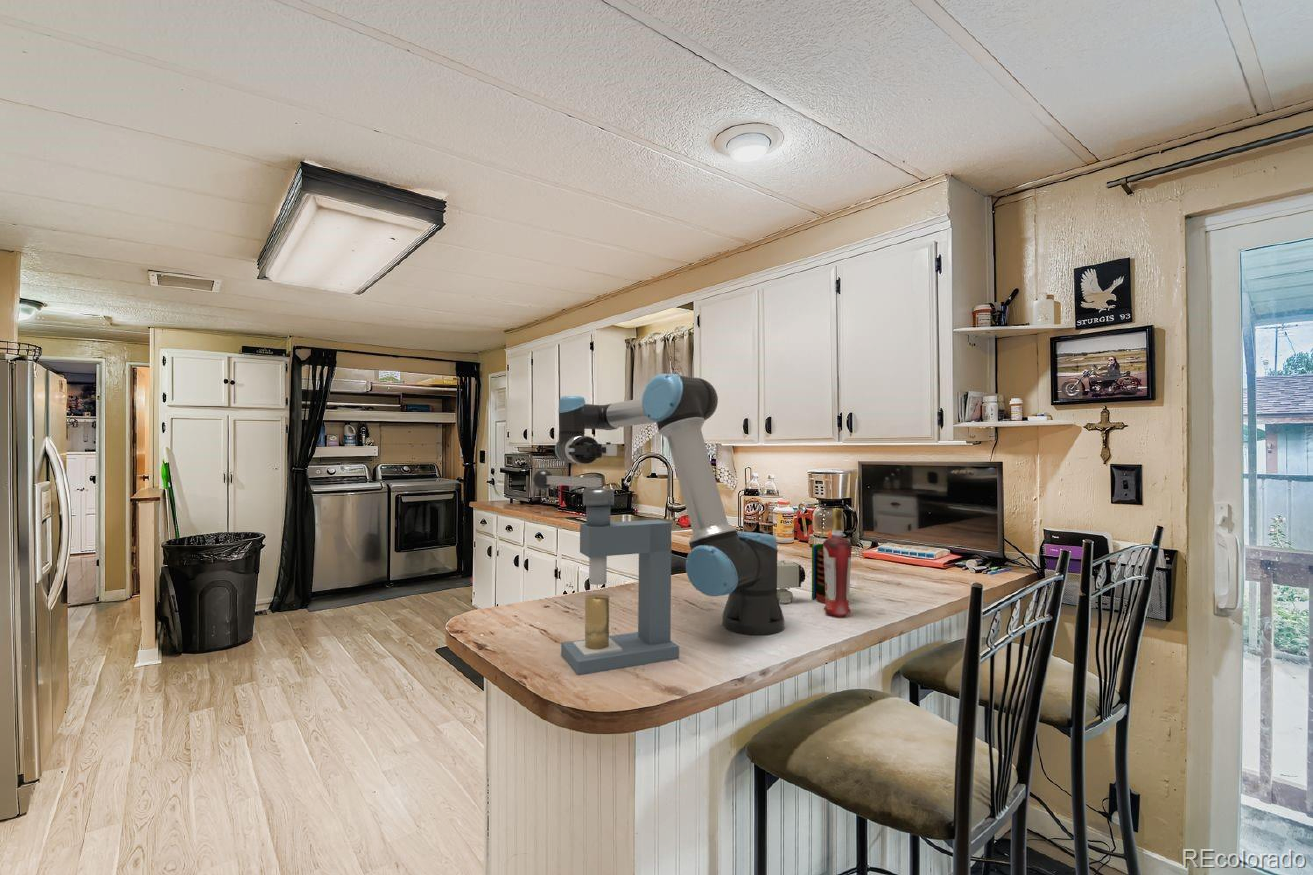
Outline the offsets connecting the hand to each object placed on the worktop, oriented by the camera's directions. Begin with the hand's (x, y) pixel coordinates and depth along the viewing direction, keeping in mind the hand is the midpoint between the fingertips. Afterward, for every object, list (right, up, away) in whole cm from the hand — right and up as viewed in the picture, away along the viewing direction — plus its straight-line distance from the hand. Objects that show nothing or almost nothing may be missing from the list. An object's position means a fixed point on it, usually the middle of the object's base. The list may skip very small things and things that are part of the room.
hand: (614, 450), depth 141 cm
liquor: (+58, -44, +14) cm, 74 cm away
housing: (-2, -40, -19) cm, 45 cm away
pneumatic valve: (+46, -44, +26) cm, 69 cm away
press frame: (+2, -43, -17) cm, 47 cm away
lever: (-8, -11, -15) cm, 20 cm away
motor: (+60, -44, +28) cm, 80 cm away
